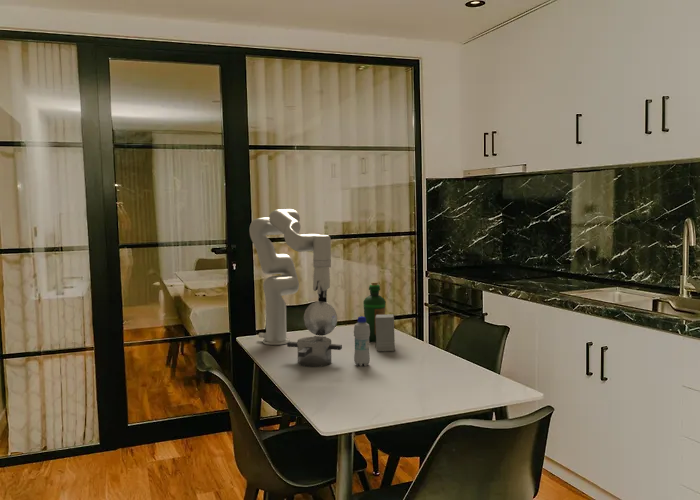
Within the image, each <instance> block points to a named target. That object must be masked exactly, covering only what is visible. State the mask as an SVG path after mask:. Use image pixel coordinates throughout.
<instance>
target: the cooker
mask: <svg viewBox="0 0 700 500" xmlns="http://www.w3.org/2000/svg"><path fill="white" fill-rule="evenodd" d="M286 345H287V346H286V347H289V348H292V347H293V348H297V364H298V365H299V366H302V367H308V368H309V367H310V368H318V367H319V368H320V367H326V366H329V365H331V364H332V350H335V351H336V350H337V351H342V350H343V345H342V344H335V343H332V339H331V338H328V337H327V336H324V335H323V336H319V335H314V336H306V337H301V338H299V339H297V341H290V342H288V343H287V344H286Z"/></svg>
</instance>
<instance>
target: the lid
mask: <svg viewBox="0 0 700 500" xmlns="http://www.w3.org/2000/svg"><path fill="white" fill-rule="evenodd" d="M303 321H304V322H303V323H304V326H305V327H306V329H307V330H308V331H309V332H310V333H311V334H313V335H314V336H323V337H324V336H327V335H329V334H330V333H332V332H333V331H334V330H335V328H336V326H337V324H338V313H337V311H336V309H335V307H334V306H332V305H331V304H330V303H328V302H327V303H326V302H323V301H315V302H312V303H310V304H309V305H308V306H307V307H306V309H305V311H304V314H303Z"/></svg>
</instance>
